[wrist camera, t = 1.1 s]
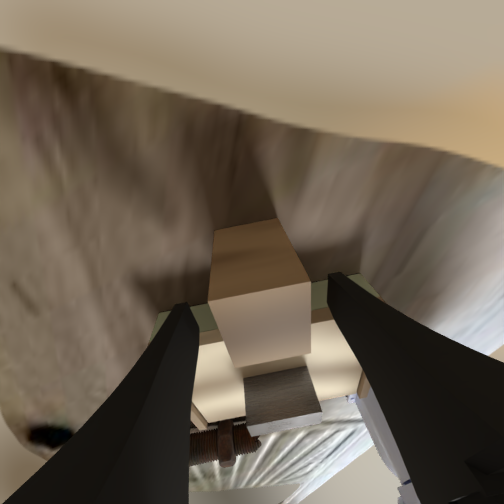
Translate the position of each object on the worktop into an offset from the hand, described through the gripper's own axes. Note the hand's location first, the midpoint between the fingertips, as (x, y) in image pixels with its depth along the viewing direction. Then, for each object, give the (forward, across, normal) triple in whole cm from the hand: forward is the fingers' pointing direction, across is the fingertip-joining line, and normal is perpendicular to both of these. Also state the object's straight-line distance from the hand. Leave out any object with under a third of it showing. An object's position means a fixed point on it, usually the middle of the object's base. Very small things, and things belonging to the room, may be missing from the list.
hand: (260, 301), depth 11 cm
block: (+4, 0, 0) cm, 4 cm away
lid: (+2, 0, +10) cm, 10 cm away
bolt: (+4, +11, +27) cm, 30 cm away
